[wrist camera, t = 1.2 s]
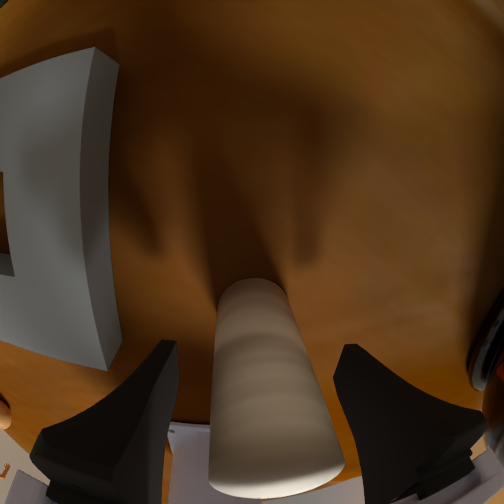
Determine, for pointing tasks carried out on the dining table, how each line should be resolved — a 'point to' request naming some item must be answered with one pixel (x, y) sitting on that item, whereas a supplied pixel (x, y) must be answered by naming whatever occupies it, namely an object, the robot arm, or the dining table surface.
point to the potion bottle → (2, 2)
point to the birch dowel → (266, 400)
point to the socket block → (59, 209)
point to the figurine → (4, 427)
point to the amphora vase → (491, 377)
